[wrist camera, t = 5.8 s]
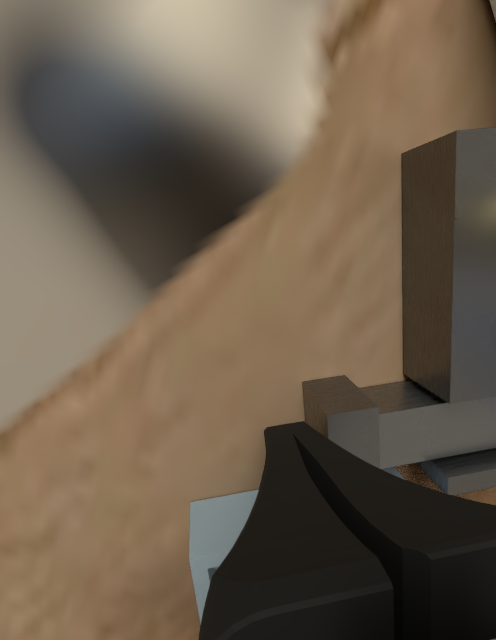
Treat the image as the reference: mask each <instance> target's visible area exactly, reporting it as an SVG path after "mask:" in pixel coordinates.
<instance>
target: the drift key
mask: <svg viewBox="0 0 496 640" xmlns="http://www.w3.org/2000/svg"><path fill="white" fill-rule="evenodd" d="M302 383H303V396H304V409H305V423H307V424H308V425H309V426H311V427H312V428H314V429H315V430H317V431H318V432H319V433H321V434H322V435H324V436H325V437H326V438H328V439H329V440H331V441H332V442H334V443H335V444H337V445H338V446H340V447H342V448H343V449H345V450H346V451H348V452H350V453H351V454H353V455H355V456H357V457H358V458H360V459H362V460H364V461H366V462H367V463H369V464H371V465H373V466H375V467H377V468H379V469H384V468H390V467H395V466H400V465H406V464H411V463H416V462H422V461H427V460H433V459H438V458H443V457H449V456H454V455H459V454H465V453H470V452H476V451H481V450H486V449H492V448H496V396H495V397H489V398H483V399H477V400H471V401H465V402H460V403H454V404H449V403H447V402H446V401H444V400H443V399H441V398H440V397H438V396H437V395H435V394H434V393H432V392H431V391H429V390H428V389H426V388H425V387H423V386H422V385H420V384H418V383H417V382H415V381H414V380H407V381H401V382H395V383H389V384H382V385H376V386H370V387H364V388H358V387H357V386H356V385H355V384H354V383H352V382H351V381H350V380H349V379H348V378H347V377H346V376H345V375H343V376H337V377H331V378H324V379H318V380H311V381H305V382H302Z"/></svg>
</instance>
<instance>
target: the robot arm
mask: <svg viewBox="0 0 496 640" xmlns="http://www.w3.org/2000/svg"><path fill="white" fill-rule="evenodd" d="M264 436H265V445H266V460H265V466H264V471H263V476H262V480H261V484H260V488H259V491H258V494H257V497H256V500H255V503H254V505H253V508H252V510H251V512H250V515H249V517H248V519H247V521H246V524H245V526H244V528H243V529H242V531H241V533H240V535H239V536H238V538H237V540H236V542H235V544H234V545H233V547H232V549H231V550H230V552H229V553H228V555H227V556H226V557H225V559H224V560H223V562H222V563H221V564H220V566H219V567H218V569H217V570H216V571H215V573H214V574H213V575H212V578H211V582H210V586H209V589H208V593H207V597H206V601H205V606H204V610H203V615H202V620H201V626H200V633H199V640H496V505H491V504H486V503H481V502H476V501H471V500H468V499H464V498H460V497H456V496H453V495H449V494H445V493H442V492H439V491H436V490H432V489H429V488H426V487H424V486H421V485H418V484H415V483H412V482H410V481H407V480H404V479H402V478H400V477H397V476H395V475H393V474H390V473H388V472H386V471H384V470H382V469H379V468H377V467H375V466H373V465H371V464H369V463H367V462H366V461H364V460H362V459H360V458H358V457H357V456H355V455H353V454H351V453H350V452H348V451H346V450H345V449H343V448H342V447H340V446H338V445H337V444H335V443H334V442H332V441H331V440H329V439H328V438H326V437H325V436H324V435H322V434H321V433H319V432H318V431H317V430H315V429H314V428H312V427H311V426H309V425H308V424H307V423H305V422H304V421H302V422H296V423H290V424H284V425H278V426H272V427H267V428H266V429H265V431H264Z"/></svg>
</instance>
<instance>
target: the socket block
mask: <svg viewBox="0 0 496 640" xmlns="http://www.w3.org/2000/svg"><path fill="white" fill-rule="evenodd" d="M402 233H403V372H404V374H405V375H406V376H408V377H409V378H411V379H412V380H414V381H415V382H417V383H418V384H420V385H422V386H423V387H425V388H426V389H428V390H429V391H431V392H432V393H434V394H435V395H437V396H438V397H440V398H441V399H443V400H444V401H446V402H447V403H449V404H454V403H460V402H465V401H471V400H477V399H483V398H489V397H495V396H496V127H494V128H482V129H470V130H458V131H455V132H452V133H450V134H447V135H445V136H443V137H440V138H438V139H435V140H433V141H431V142H428V143H426V144H423V145H421V146H419V147H416V148H414V149H411V150H409V151H406V152H404V153H402ZM416 464H417V465H418V466H419V467H420V468H421V469H422V470H423V472H424V473H425V474H426V475H427V476H428V477H429V478H430V479H431V480H432V481H433V482H434V483H435V484H436V485H437V486H438V487H439V488H440V489H441V490H442V491H443V492H444V493H445V494H449V495H457V494H462V493H467V492H472V491H477V490H482V489H487V488H492V487H496V448H492V449H486V450H481V451H476V452H470V453H465V454H459V455H454V456H449V457H443V458H438V459H433V460H427V461H422V462H416Z"/></svg>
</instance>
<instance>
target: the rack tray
mask: <svg viewBox="0 0 496 640" xmlns="http://www.w3.org/2000/svg"><path fill="white" fill-rule="evenodd" d="M382 470H384V471H386V472H388V473H390V474H393V475H395V476H397V477H400V478H402V479H404V478H403V477H402V475H401V474H400V473H399V472H398V471H397V470H396V468H395V467H390V468H384V469H382ZM404 480H405V479H404ZM258 491H259V490H254V491H248V492H243V493H237V494H232V495H227V496H221V497H216V498H210V499H205V500H200V501H194V502H191V508H190V547H189V561H190V566H191V572H192V578H193V584H194V589H195V595H196V601H197V607H198V612H199V618H200V624H201V620H202V615H203V610H204V606H205V601H206V597H207V593H208V589H209V586H210V582H211V578H212V575H213V574H214V573H215V571H216V570H217V569H218V567H219V566H220V564H221V563H222V562H223V560H224V559H225V557H226V556H227V555H228V553H229V552H230V550H231V549H232V547H233V545H234V544H235V542H236V540H237V538H238V536H239V535H240V533H241V531H242V529H243V528H244V526H245V524H246V521H247V519H248V517H249V515H250V512H251V510H252V508H253V505H254V503H255V500H256V497H257V494H258Z"/></svg>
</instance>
